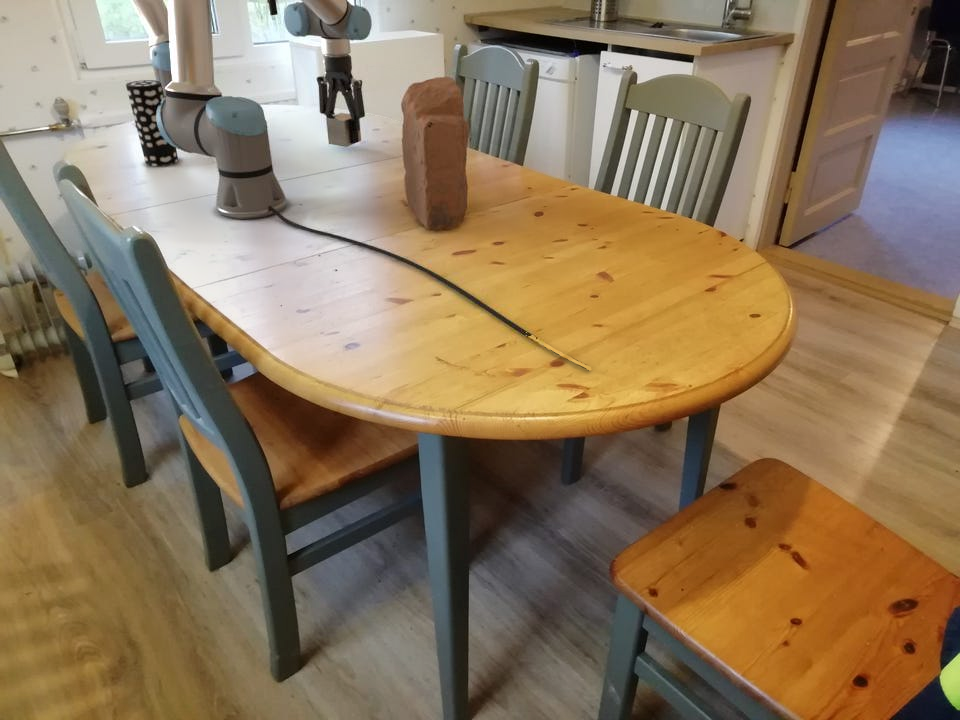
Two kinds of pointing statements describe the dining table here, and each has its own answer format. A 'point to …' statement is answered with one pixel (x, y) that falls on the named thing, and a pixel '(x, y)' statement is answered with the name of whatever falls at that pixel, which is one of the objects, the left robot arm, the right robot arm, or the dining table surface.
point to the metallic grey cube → (340, 130)
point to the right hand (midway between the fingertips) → (344, 141)
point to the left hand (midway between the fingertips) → (291, 16)
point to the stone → (435, 152)
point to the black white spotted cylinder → (150, 122)
